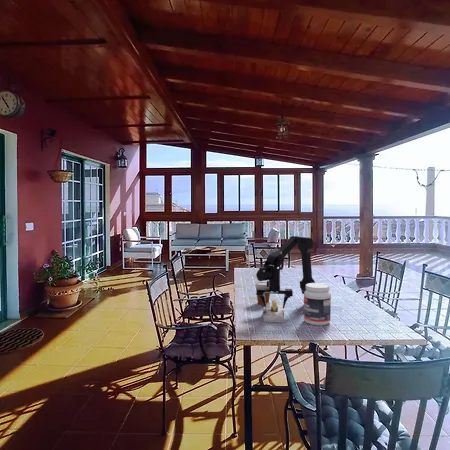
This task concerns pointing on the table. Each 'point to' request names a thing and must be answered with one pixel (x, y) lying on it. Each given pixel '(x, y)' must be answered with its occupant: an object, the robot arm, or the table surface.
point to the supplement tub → (317, 304)
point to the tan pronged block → (274, 305)
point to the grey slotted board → (274, 313)
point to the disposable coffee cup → (264, 285)
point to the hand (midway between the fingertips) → (274, 308)
